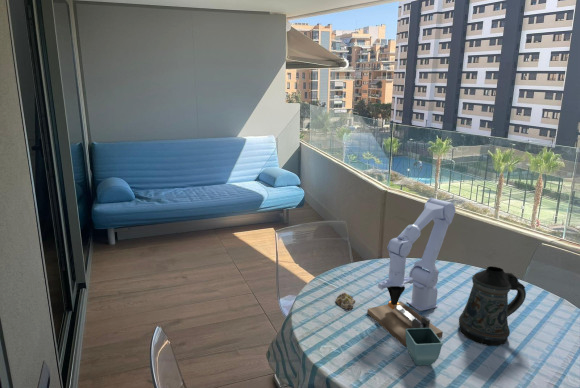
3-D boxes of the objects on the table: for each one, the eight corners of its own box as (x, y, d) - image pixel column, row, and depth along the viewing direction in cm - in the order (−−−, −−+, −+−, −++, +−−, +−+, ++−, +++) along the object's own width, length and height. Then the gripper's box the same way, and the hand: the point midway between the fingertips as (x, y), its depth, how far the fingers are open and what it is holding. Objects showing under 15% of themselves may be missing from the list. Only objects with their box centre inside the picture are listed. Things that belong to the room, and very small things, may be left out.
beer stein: (447, 325, 146) (455, 263, 140) (485, 315, 153) (494, 255, 147) (485, 351, 131) (495, 282, 125) (525, 338, 138) (536, 273, 133)
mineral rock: (332, 293, 165) (350, 287, 165) (334, 301, 166) (352, 296, 166) (338, 307, 154) (357, 301, 155) (340, 316, 156) (359, 310, 156)
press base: (400, 305, 159) (402, 290, 158) (442, 336, 139) (444, 319, 137) (367, 313, 153) (368, 297, 152) (405, 346, 133) (407, 328, 131)
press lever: (394, 304, 152) (394, 300, 152) (425, 329, 137) (426, 324, 136) (387, 305, 151) (388, 301, 151) (418, 331, 136) (419, 326, 135)
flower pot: (402, 352, 130) (404, 328, 128) (428, 351, 131) (430, 327, 128) (412, 370, 121) (415, 344, 119) (440, 369, 122) (443, 343, 120)
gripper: (387, 277, 140) (384, 311, 144) (419, 271, 146) (416, 304, 149) (375, 269, 147) (373, 302, 150) (407, 264, 152) (404, 295, 155)
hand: (394, 302), depth 150 cm, fingers closed, pressing on press lever
